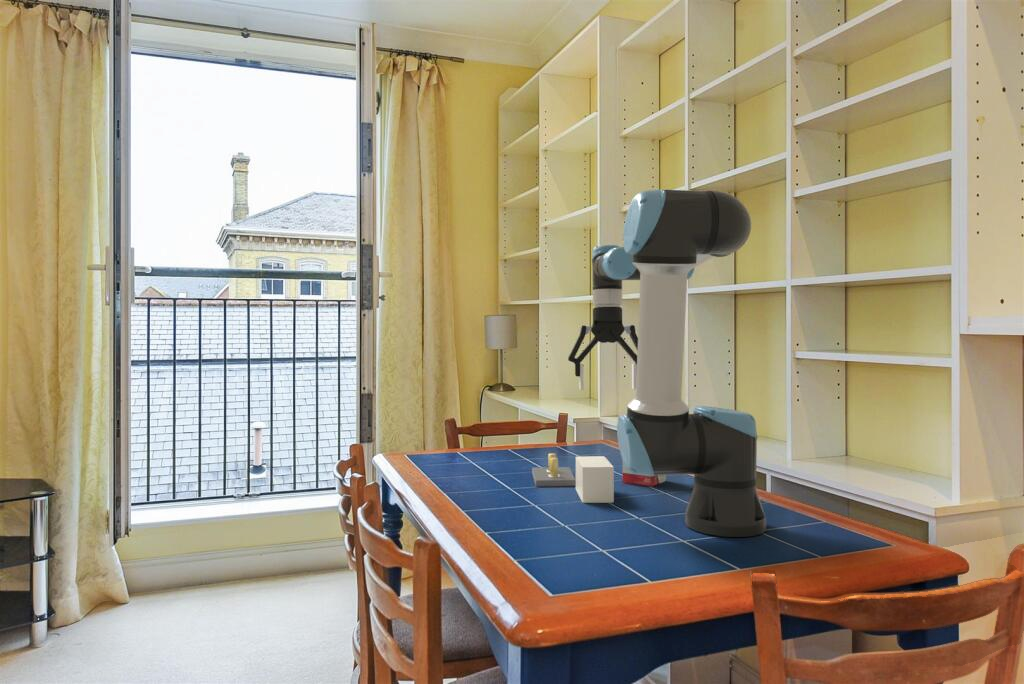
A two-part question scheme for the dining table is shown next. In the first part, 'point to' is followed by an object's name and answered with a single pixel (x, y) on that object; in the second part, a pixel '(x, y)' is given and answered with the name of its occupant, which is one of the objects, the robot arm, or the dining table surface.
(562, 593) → the dining table surface
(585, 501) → the block
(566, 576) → the dining table surface
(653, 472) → the robot arm
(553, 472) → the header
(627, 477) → the ink box
